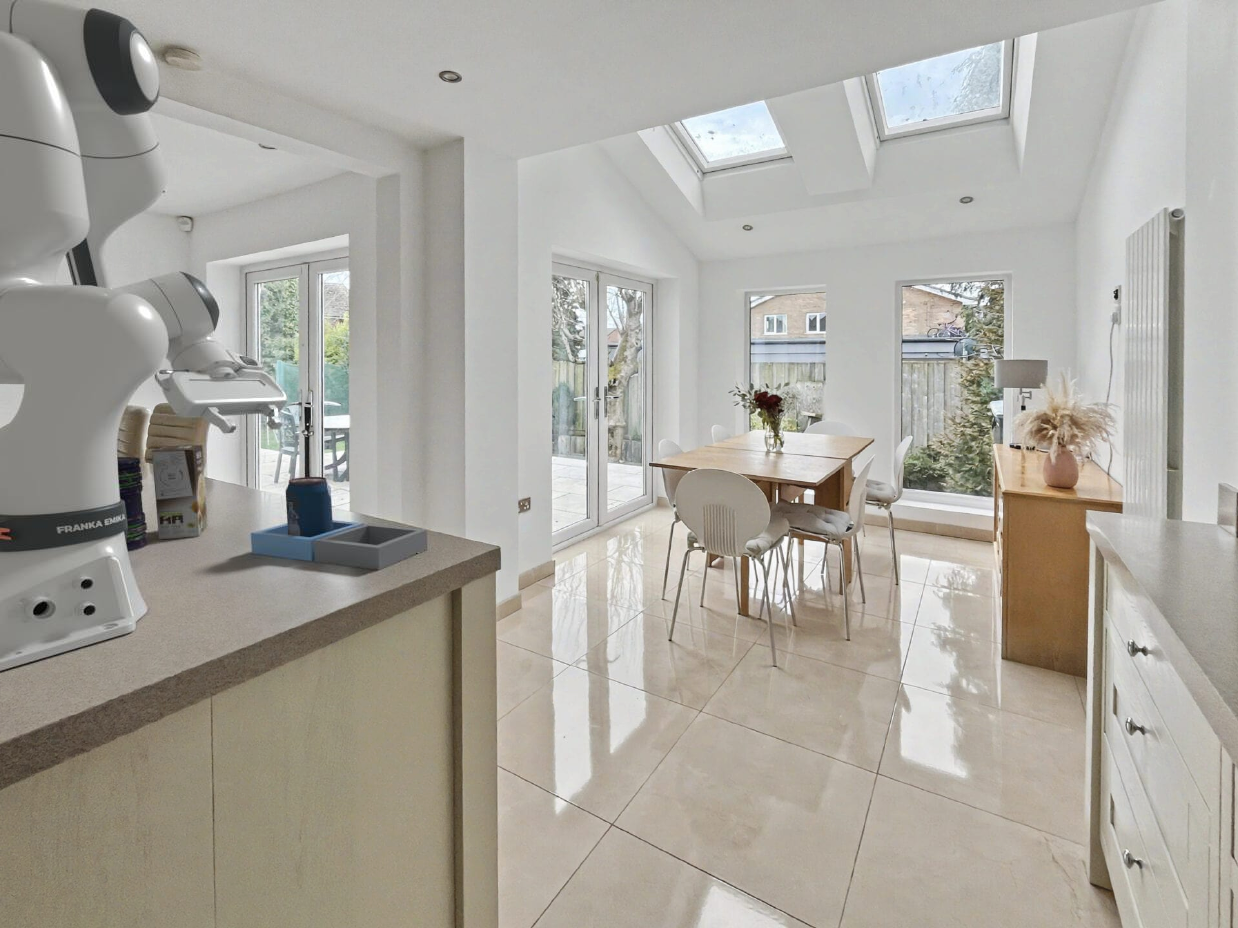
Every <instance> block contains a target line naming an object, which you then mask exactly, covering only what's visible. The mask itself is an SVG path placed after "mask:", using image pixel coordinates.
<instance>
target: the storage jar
mask: <svg viewBox="0 0 1238 928" xmlns="http://www.w3.org/2000/svg"><path fill="white" fill-rule="evenodd" d="M117 461H118V479H119V492H120V499H122V500H123V501H125V508H126V515H127V525H128V532H127V540H126V545H127V550H128V553H130V552H133V551H137V550H140V549H143V548H144V547H146V546H148V540H147V535H148V533H147V530H148V525H147V522H146V514H145V512H144V511H143V509H144V507H143V498H142V497H143V496H142V491H143V490H144V489H143V488H144V485H143V482H142V481H143V473H141V472H142V469H141V466H140V464H141V459H140V457H132V456H131V457H130V456H129V457H128V456H117Z"/></svg>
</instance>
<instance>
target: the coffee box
mask: <svg viewBox="0 0 1238 928" xmlns="http://www.w3.org/2000/svg"><path fill="white" fill-rule="evenodd" d="M151 455H152V456H151V457H152V469H153V470H152V472H153V483H154V494H155V505H156V507H155V508H156V518H157V532H158V539H159V540H165V539H166V540H167V539H180V538H195V537H200V536H201V534H202V533H203V532H204V531H205V530H206V529H207V528H208V526H209V523H208V521H209V520H208V507H207V494H206V493H207V492H206V480H205V479H206V478H205V468H204V467H205V465H204V451H203V444H189V445H188V444H187V445H186V444H185V445H166V446H165V445H164V446H162V447H158V448H156V449H153V450H151Z"/></svg>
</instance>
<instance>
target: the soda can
mask: <svg viewBox="0 0 1238 928" xmlns="http://www.w3.org/2000/svg"><path fill="white" fill-rule="evenodd" d="M285 504H286V506H285V507H286V521H287V523H286V524H288V535H293V536H302V537H314V536H317V535H320V534H324V533H327V532H330V531H333V506H332V488H331V486H330V484H329V483H328V481H327V477H323V476H322V477H321V476H305V477H296V478H292V479H289V480H288V485H287V487H286V489H285Z"/></svg>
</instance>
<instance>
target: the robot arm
mask: <svg viewBox="0 0 1238 928" xmlns="http://www.w3.org/2000/svg"><path fill="white" fill-rule="evenodd" d="M159 97H160V74H159V67H158V64H157V61H156V59H155V56H154V52H153V51H152V48H151V46H150V44H149V41H148V39H147V38H146V37H145V35H144V34H143V33H142V32H141V31H140V30H139V29H138V28H137V27H136V26H135V25H134V24H133V23H132V22H131V21H130V20H129V19H127V18H125V17H123V16H120V15H118V14H115V13H114V12H109V11H106V10H102V9H99V8H95V7H93V8H89V9H86V8H83V7H79V6H74V5H70V4H65V3H60V2H56V1H50V0H0V385H23V386H24V388H23V389H24V390H23V393H22V399H21V403H20V404H19V408H18V410H17V412H16V414H15V415H14V416H13V418H12V420H11V421H10V422H9V423H7V424H5V425H4V426H1V427H0V672H1V671H4V670H7V669H10V668H11V669H12V668H13V667H17V666H20V665H24V664H27V663H30V662H34V661H37V660H42V659H45V658H48V657H51V656H54V655H59V654H62V653H65V652H68V651H72V650H75V649H78V648H82V647H85V646H89V645H92V644H95V643H98V642H103V641H105V640H108V639H112V638H116V637H119V636H123V635H127V634H128V633H131V632H133V631H135V630H136V628H137V624H136V623H137V621H138V620H139V619H141V618H142V617H143V616H144V615H145V614H146V613H147V612H148V605H147V604H146V602H145V600H144V598H143V596H142V594H141V592H140V588H139V587H138V584H137V582H136V578H135V577H136V576H135V575H134V572H133V567H132V564H131V561H130V556H129V552H128V550H127V545H126V540H127V532H128V525H127V515H126V508H125V501H123V500H122V499H120V492H119V479H118V461H117V457H118V437H119V431H120V426H121V422H122V419H123V416H124V414H125V411H126V409H127V407H128V405H129V402H130V400H131V399H132V398H133V395H134V394H135V393H136V391H137V390H138V389H139V387H141V386H142V385H143V384H144V382H146V381H148V379H149V378H151V377H153V376H154V381H156V383H157V384H158V386H159V387H160V388H161V389H162V393H163V395H164V397H165V399H166V401H167V403H168V404H169V406H170V408H171V409H172V410H173V413H174V414H176V415H178V416H180V417H181V418H184V419H190V418H192V419H193V418H203V419H204V420H205V421H206V422H207V423H210V424H212V425H213V426H215V427H217V428H218V429H219V430H220V431H221V432H222V434H224V435H225V434H226V435H227V434H233V433H235V430H236V429H237V424H235V423H234V420H233V419H228V418H226V417H228V416H229V417H230V416H246V415H247V416H248V415H263V416H265V417H268V421H267V422H266V425H267V426H268V427H269V428H270V430H280V429H281V428H282V426H283V425H284V423H283V421H282V420H281V419H280V417H279V413H280V412H282V410H283V408H284V407H286V406H285V405H286V404H287V402H288V396H287V394H286V393H285V391H284V390H283V389H282V387H281V386H280V385H279V384H278V382H277V381H276V380H275V379H274V378H273V377H272V376H271V375H270V374H269V373H268V372H266V371H263V367H264V366H263V363H262V362H260V361H259V360H258V359H255V358H252V357H249V356H245V355H242V354H239V353H237V352H235V351H232V350H230V349H226V348H225V347H224V345H222V343H220V342H218V340H217V339H216V338H215V337H214V335H213V332H215V331H216V329H217V326H218V323H219V319H220V308H219V305H218V302H217V300H216V299H215V298H214V296H213V294H212V293H211V292H210V291H209V289H208V287H206V285H205V284H204V283H203V282H202V281H201V279H199V278H197V277H195V276H193V275H191V274H189V273H187V272H184V271H175V272H172V273H171V272H170V273H166V274H163V275H158V276H155V277H151V278H148V279H146V280H142V281H138V282H134V283H131V284H128V285H124V286H119V287H115V288H113V286H112V281H111V277H110V271H109V268H108V262H107V258H106V254H105V248H106V244H107V241H108V240H109V238H110V237H111V236H112V234H114V232H115V231H116V230H118V229H119V228H120V227H122V226H123V225H124V224H125V223H126V222H128V221H129V220H131V219H132V218H134V217H137V216H138V215H139V214H141V213H143V212H145V211H146V210H147V209H149V208H150V207H151V206H153V205H154V204H155V203H156V202H158V200H159V199H160V198H161V196H162V194H163V192H164V191H165V189H166V185H167V183H168V172H167V171H168V169H167V165H166V160H165V157H164V153H163V150H162V147H161V144H160V141H159V139H158V138H159V137H158V136H157V132H156V130H155V127H154V124H153V122H152V120H151V118H150V116H149V113H148V111H150V110H151V109H152V108H153V106H154V105H155V104H156V103H157V102H158V100H159ZM64 257H65V258H66V262H67V267H68V270H69V273H70V278H71V280H72V284H56V283H55V282H56V276H57V273H58V269H59V267H60V264H61V262H62V261H63V259H64ZM166 360H168V361H169V363H170V366H171V369H161V367H162V366H163V364H164V363H165V361H166Z"/></svg>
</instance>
